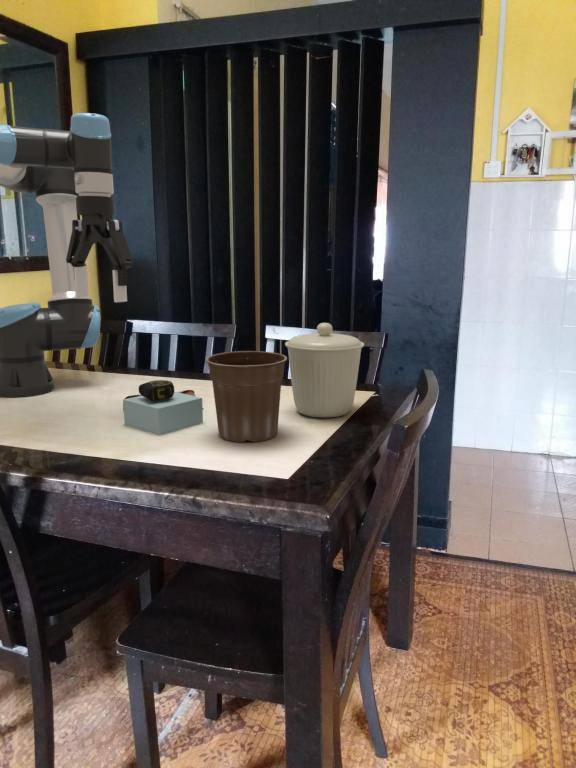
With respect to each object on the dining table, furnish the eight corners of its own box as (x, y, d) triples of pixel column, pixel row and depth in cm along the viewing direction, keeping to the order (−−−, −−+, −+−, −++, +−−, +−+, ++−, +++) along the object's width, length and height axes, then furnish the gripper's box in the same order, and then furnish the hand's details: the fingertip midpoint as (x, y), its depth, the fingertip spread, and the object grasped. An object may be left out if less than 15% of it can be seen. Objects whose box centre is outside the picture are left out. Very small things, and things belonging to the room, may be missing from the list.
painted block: (124, 426, 130) (123, 399, 128) (168, 415, 139) (167, 390, 137) (159, 436, 122) (158, 408, 121) (203, 424, 131) (202, 397, 130)
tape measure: (138, 398, 130) (137, 381, 129) (168, 394, 133) (167, 378, 132) (148, 405, 124) (147, 387, 123) (179, 400, 127) (178, 383, 126)
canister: (335, 427, 127) (336, 329, 123) (269, 414, 138) (268, 323, 133) (376, 410, 141) (379, 322, 137) (313, 399, 152) (314, 317, 147)
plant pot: (257, 452, 112) (256, 367, 108) (191, 438, 120) (188, 359, 117) (301, 430, 125) (302, 355, 122) (239, 419, 134) (238, 348, 130)
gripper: (44, 196, 127) (52, 296, 132) (117, 192, 112) (122, 305, 117) (75, 198, 133) (82, 293, 138) (148, 195, 118) (152, 302, 123)
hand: (100, 299), depth 128 cm, fingers open, 13 cm apart
